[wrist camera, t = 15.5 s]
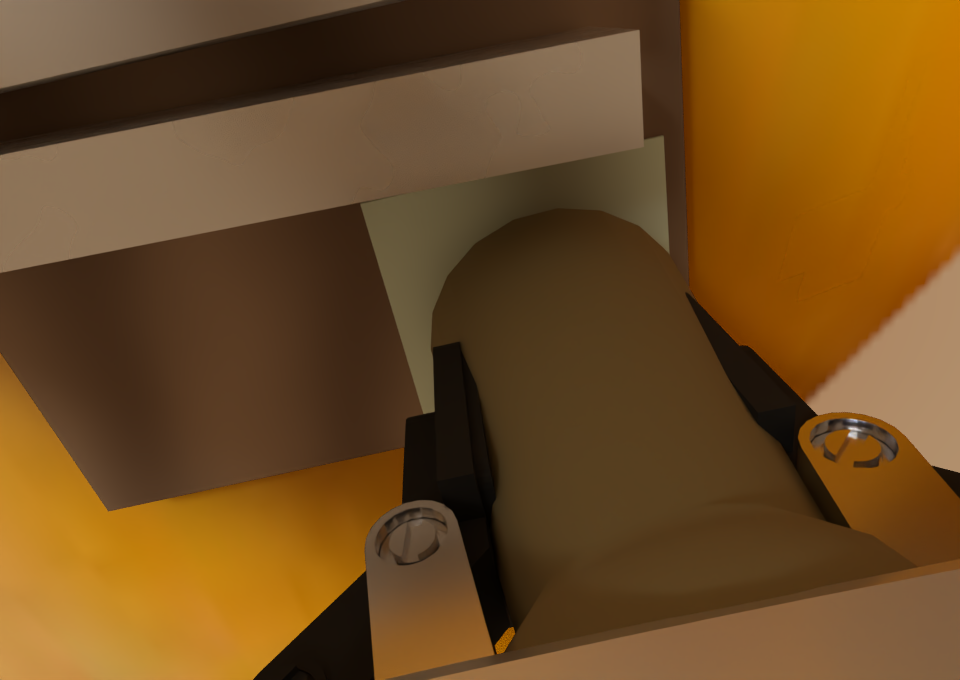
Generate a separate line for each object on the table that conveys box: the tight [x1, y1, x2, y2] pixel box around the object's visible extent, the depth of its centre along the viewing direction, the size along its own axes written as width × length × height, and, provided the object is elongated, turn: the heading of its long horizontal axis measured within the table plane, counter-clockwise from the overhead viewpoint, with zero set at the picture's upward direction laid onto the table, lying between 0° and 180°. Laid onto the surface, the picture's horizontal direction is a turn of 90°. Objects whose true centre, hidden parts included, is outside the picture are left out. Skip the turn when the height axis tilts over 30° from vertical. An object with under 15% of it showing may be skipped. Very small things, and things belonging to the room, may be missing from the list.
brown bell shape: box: [431, 208, 918, 653], centre depth 9 cm, size 6×6×11 cm
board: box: [0, 0, 689, 511], centre depth 13 cm, size 17×14×4 cm
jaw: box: [0, 27, 644, 273], centre depth 11 cm, size 15×3×4 cm, turn 100°
